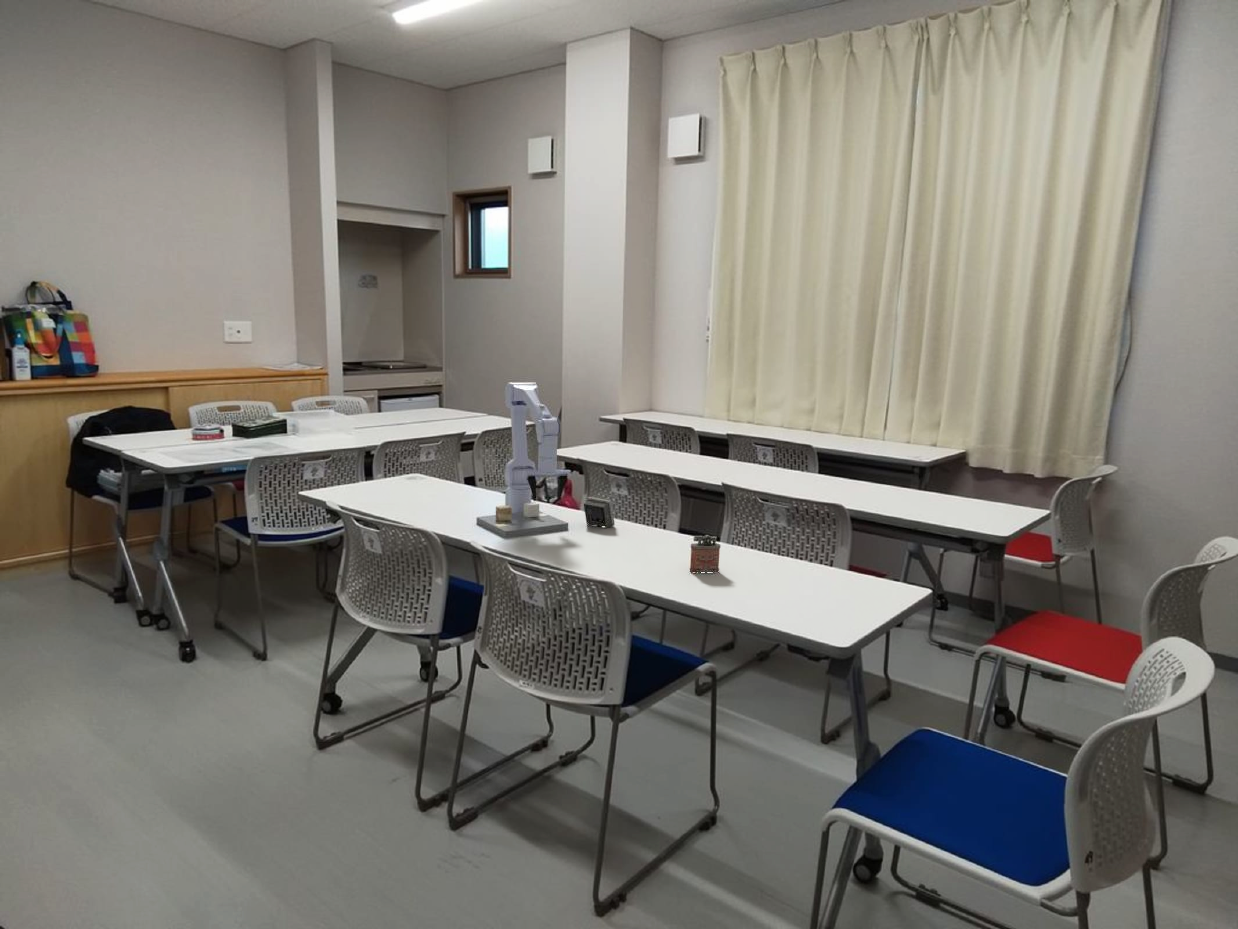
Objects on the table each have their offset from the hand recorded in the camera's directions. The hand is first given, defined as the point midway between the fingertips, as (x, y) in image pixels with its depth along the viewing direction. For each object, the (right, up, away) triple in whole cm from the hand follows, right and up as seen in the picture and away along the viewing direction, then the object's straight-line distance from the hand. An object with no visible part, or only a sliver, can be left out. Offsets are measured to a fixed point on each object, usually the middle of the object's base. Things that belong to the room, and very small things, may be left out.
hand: (546, 499), depth 258 cm
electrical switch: (+16, -9, +8) cm, 20 cm away
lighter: (+45, -18, -36) cm, 61 cm away
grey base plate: (-8, -9, +5) cm, 13 cm away
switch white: (-6, -6, +10) cm, 12 cm away
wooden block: (-14, -6, +4) cm, 16 cm away
